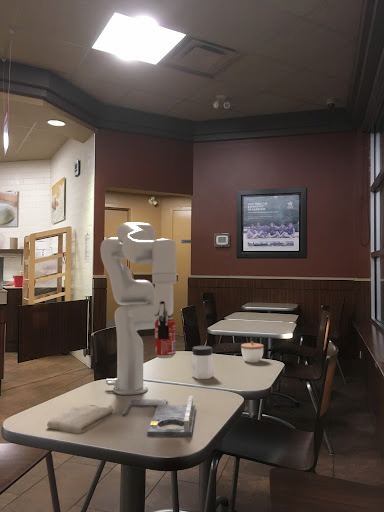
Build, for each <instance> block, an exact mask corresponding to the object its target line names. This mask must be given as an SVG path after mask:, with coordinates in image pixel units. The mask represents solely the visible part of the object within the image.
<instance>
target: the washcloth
mask: <svg viewBox="0 0 384 512" xmlns="http://www.w3.org/2000/svg"><path fill="white" fill-rule="evenodd" d="M114 411H115V409H114V408H113V407H107V406H106V407H103V406H98V405H96V404H86V403H83V404H82V405H80V406H73V407H71V408H69V410H67V411H64V412H62V413H61V412H60V413H59V414H58V415H56V416H54V417H51V418H50V419H49V420H48V422H47V424H46V426H47V428H49V429H50V430H51V429H53V430H57V431H58V430H60V431H65V432H67V433H68V432H69V433H75V434H82V433H84V432H86V431H87V430H90V429H91V428H93V427H95V426H96V425H98V424H100V423H102V422H103V421H105V420H107V419H109V418H111V417H113V416H115V413H114Z"/></svg>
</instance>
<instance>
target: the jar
mask: <svg viewBox="0 0 384 512" xmlns="http://www.w3.org/2000/svg"><path fill="white" fill-rule="evenodd" d="M191 377H192V378H194V379H197V380H209V379H211V378H212V377H214V353H213V347H212V346H209V345H197V346H192V353H191Z"/></svg>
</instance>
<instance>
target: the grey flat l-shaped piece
mask: <svg viewBox="0 0 384 512" xmlns="http://www.w3.org/2000/svg"><path fill="white" fill-rule="evenodd" d="M167 403H168V399H155V398H154V399H148V398H147V399H144V398H143V399H141V398H140V399H139V398H137V399H135V398H134V399H133V398H132V399H131V400H130V402H128V405H127V406H125V407H126V408H125V409H124V410H123V412H122V414H121V415H122V418H124V417H125V418H126V417H127V415H128V413H129V412H130V410H131V408H134V407H135V408H136V407H137V408H157V407H158V405H167Z"/></svg>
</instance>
